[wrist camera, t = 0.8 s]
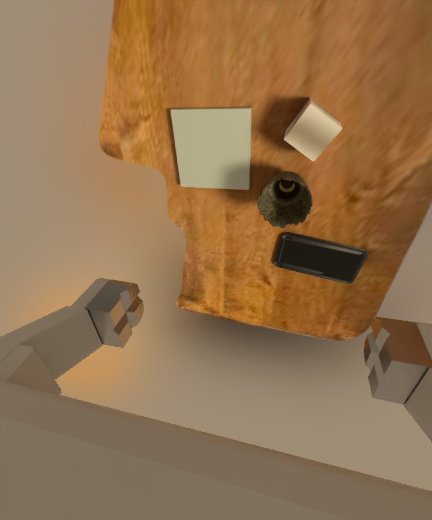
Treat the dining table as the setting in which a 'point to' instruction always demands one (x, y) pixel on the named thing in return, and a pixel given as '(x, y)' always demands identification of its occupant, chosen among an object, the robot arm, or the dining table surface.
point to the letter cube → (312, 130)
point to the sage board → (213, 147)
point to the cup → (285, 200)
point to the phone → (320, 257)
